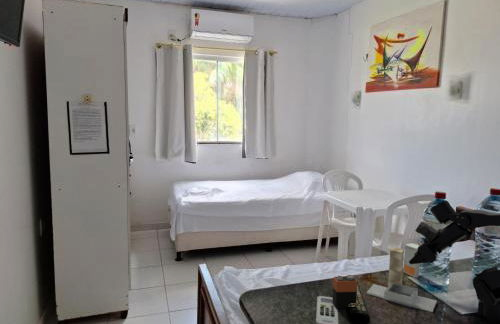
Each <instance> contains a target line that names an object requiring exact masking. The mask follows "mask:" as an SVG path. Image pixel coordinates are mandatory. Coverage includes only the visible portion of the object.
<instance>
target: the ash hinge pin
mask: <svg viewBox="0 0 500 324" xmlns="http://www.w3.org/2000/svg"><path fill="white" fill-rule="evenodd" d="M404 253H405V248H398V247H392V248H391V249H390V251H389V266H388V283H387V285H388V286H389V284H390V283H391V282H393V283H397V284H400V285H403V273H404V272H403V268H404ZM388 286H387V287H388Z"/></svg>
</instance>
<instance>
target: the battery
mask: <svg viewBox="0 0 500 324" xmlns="http://www.w3.org/2000/svg"><path fill="white" fill-rule="evenodd" d="M332 282H333V283H332V299H331V300H332V304H333V306H334V308H336V309H348V308H347V306H348V304H350V303H356V304H357V294H358V292H357V290H358V281H357V280H356V279H355V277H354V275H351V274H347V275H346V276H343V275H342V276H341V275H338V276H334V277H333V280H332Z"/></svg>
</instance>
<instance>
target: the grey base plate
mask: <svg viewBox="0 0 500 324" xmlns="http://www.w3.org/2000/svg"><path fill="white" fill-rule="evenodd" d="M418 291H419V288H416V287H411V286H407V285H404V284H402V285H400V284H397V283H393V282H391V283H390V284H389V286H387V287H386V286H383V285H380V284H379V285H378V284H375V283H373V284H372V285H371V287H370V288H369V289H368V290H367V291H366V295H369V296H373V297H376V298H380V299H383V300H385V301H388V302H391V303H396V304H399V305H402V306H406V307H410V308H415V309H418V310H422V311H425V312H429V313H433V312H434V310H435V308H436V306H437V300H436V299H432V298H428V297H424V296H420V295H418V293H419V292H418Z"/></svg>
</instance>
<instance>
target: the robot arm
mask: <svg viewBox="0 0 500 324" xmlns="http://www.w3.org/2000/svg"><path fill="white" fill-rule="evenodd" d="M429 212H430V213H431V214H432V215H433V217H434V218H435V220H436V221H437V222H438V223H439V224H440V225H444V227H443V228H439V229H435V228H434V227H433V226H431V225H429V224H428V223H425V222H424V221H421V222H420V223H419V224H418V225H417V227H416V228H415V230H414V231H415V232H416V233H417V234H420V235H421V236H423V237H425V238H424V239H423V240H424V241H423V242H422V243H421V244H419V247H418V248H417V249H418V251H417V252H416V253H415V254H414V255H415V256H414V257H413V258H412V259H411V260H410V261H409V263H410V264H418V263H423V264H427V263H429V264H433V263H434V262H437V259H438V256H439V255H440V254H441V253H443V251H444V250H446V249H448V248H451V247H453V245H455V244H456V243H457V242H460V240H462V239H465V237H466V238H467V239H468V240H474V239H475V231H472V229H478V228H485V227H500V212H499V213H497V212H496V213H495V212H490V211H487V210H482V209H481V210H480V209H470V210H463V211H460V212H457V211H456V210H455V209H454V208H453V207H452V206H451V203H450V202H449V201H448V200H442V201H441V202H439V203H437V204H435V205H433V206H432V207H431V208H430V209H429ZM470 229H471V230H470ZM474 276H475V277H473V278H472V286H473V288H474V291H475V295H476V298H477V300H478V304H477V312H476V313H477V316H478V320H480V321H483V322H487V323H491V324H500V269H498V267H497V266H492V267H489V268H488V267H487V268H484V269H483V270H482V271H481V272H478V273H475V274H474Z"/></svg>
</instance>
